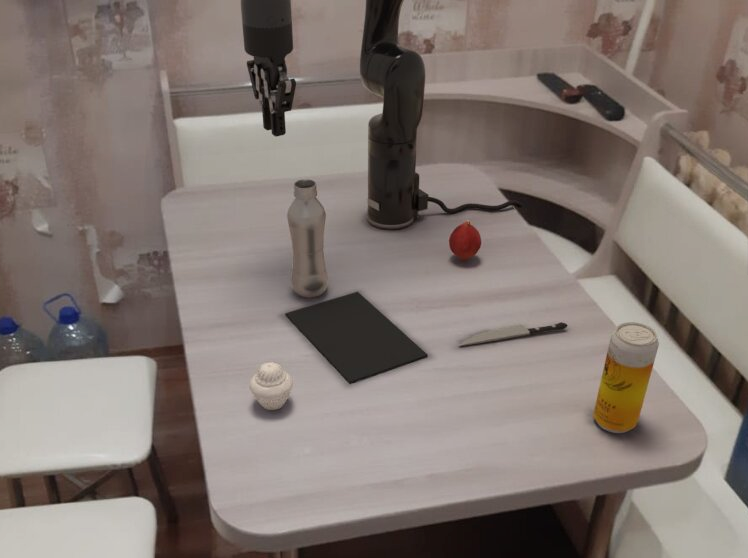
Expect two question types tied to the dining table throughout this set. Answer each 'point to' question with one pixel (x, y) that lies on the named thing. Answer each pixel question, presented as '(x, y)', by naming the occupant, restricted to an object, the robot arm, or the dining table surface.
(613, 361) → the beer can
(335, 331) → the rubber mat
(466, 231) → the onion
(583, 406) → the dining table surface
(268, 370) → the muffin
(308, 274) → the plastic bottle
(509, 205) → the robot arm
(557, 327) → the chef's knife
